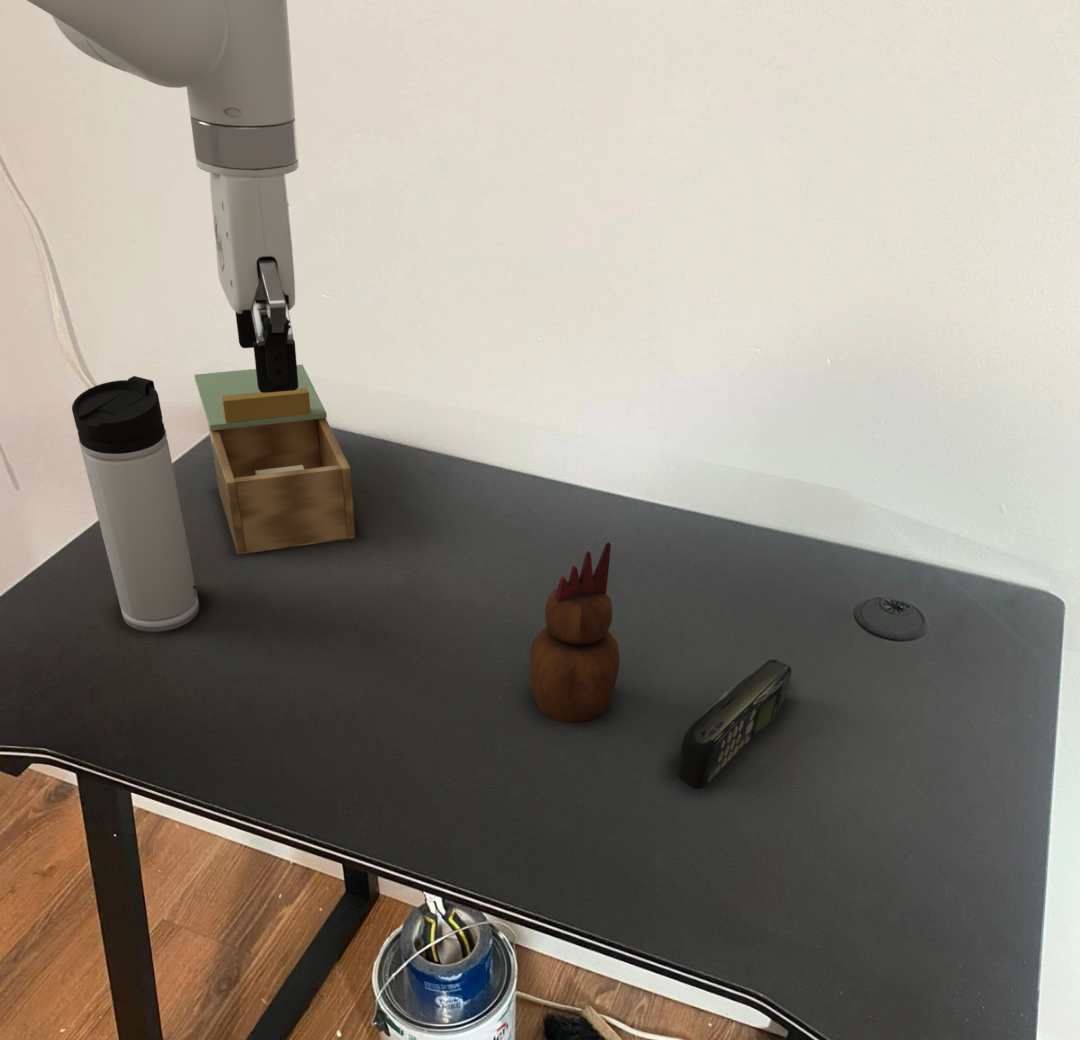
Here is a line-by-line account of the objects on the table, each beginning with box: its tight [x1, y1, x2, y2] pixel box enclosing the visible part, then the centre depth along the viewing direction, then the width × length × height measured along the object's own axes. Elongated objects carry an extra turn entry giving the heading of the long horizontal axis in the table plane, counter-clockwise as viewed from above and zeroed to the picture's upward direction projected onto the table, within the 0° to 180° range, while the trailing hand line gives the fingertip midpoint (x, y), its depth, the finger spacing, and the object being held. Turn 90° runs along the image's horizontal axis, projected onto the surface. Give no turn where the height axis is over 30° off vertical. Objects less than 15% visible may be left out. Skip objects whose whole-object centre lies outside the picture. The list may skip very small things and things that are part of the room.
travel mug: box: [71, 375, 200, 633], centre depth 85 cm, size 6×7×20 cm
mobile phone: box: [676, 658, 793, 790], centre depth 81 cm, size 5×3×15 cm
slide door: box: [193, 364, 328, 431], centre depth 105 cm, size 11×12×3 cm
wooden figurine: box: [529, 542, 620, 724], centre depth 80 cm, size 7×6×15 cm
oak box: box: [208, 418, 356, 555], centre depth 102 cm, size 11×12×8 cm
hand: (268, 367), depth 91 cm, fingers open, 9 cm apart
